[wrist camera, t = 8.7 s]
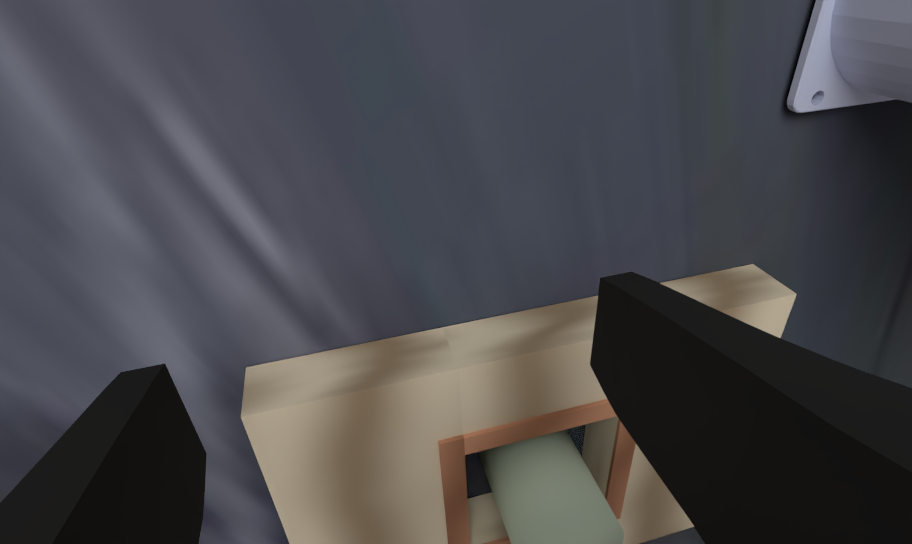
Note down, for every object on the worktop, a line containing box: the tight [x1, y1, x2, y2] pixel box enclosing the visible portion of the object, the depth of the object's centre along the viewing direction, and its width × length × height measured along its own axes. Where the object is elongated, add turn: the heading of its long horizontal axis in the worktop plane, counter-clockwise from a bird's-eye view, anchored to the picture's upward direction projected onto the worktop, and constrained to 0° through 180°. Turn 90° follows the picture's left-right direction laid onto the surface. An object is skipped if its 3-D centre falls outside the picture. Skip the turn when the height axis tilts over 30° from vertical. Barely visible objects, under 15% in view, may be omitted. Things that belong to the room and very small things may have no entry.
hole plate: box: [241, 264, 797, 544], centre depth 25 cm, size 22×16×3 cm
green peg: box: [478, 429, 624, 544], centre depth 23 cm, size 4×4×6 cm
